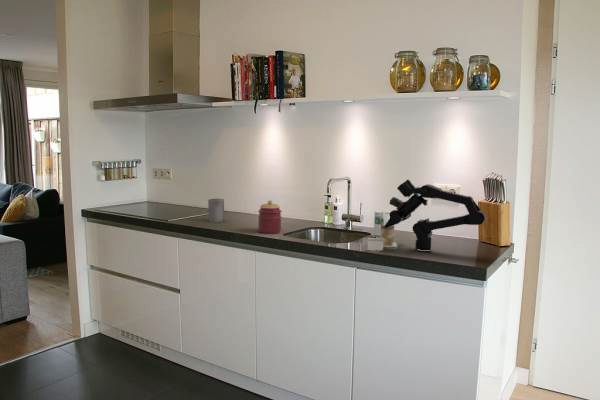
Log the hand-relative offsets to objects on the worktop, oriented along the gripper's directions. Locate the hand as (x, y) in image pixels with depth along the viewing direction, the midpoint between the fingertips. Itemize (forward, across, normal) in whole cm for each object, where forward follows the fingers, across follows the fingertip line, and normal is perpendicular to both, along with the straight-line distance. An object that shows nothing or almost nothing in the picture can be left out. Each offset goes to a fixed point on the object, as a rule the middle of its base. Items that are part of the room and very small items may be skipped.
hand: (388, 225), depth 224 cm
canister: (+55, -1, -41) cm, 69 cm away
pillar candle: (+88, -12, -74) cm, 116 cm away
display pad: (+7, 0, +7) cm, 10 cm away
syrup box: (+14, -18, +1) cm, 23 cm away
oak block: (+7, 0, +6) cm, 9 cm away
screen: (+8, +13, +6) cm, 17 cm away
